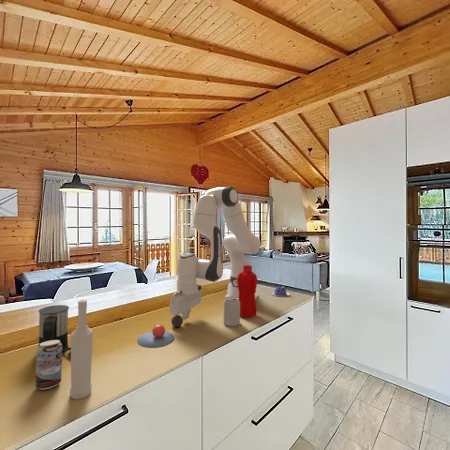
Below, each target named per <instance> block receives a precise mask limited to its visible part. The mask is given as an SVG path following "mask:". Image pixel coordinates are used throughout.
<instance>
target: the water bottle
mask: <svg viewBox="0 0 450 450" xmlns="http://www.w3.org/2000/svg"><path fill="white" fill-rule="evenodd" d="M237 285H238V290H239V297H238V298H239V301H240V317H241V318H244V319H246V318H248V319H249V318H251V317H255V316H256V315H257V312H258V311H257V310H258V309H257V302H256V300H255V293H256V294H257V285H258V276H257V275H256V273H254V272H253V266H252V265H251V264H250V265H244V266H243V271H242V272H241V273H239V274H238V277H237Z"/></svg>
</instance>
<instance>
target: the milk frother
mask: <svg viewBox="0 0 450 450" xmlns="http://www.w3.org/2000/svg"><path fill="white" fill-rule="evenodd" d="M69 309H70V306H68V305H66V304H58V305H49V306H45V307H42V308H40V309H38V313H39V315H38V316H39V317H38V319H39V320H38V322H39V323H38V347H39V346H40V343H42V342H46V341H50V340H60V343H61V344H62V354H63V353H64V352H66V351H71V346H69V344H68V343H69V341H68V337H69V335H68V332H69V330H68V329H69V327H68V326H69V325H68V324H69V323H68V322H69V321H68V320H69ZM38 347H37V348H38Z"/></svg>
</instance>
